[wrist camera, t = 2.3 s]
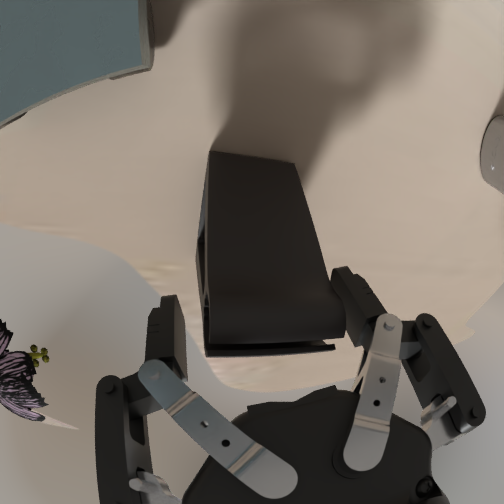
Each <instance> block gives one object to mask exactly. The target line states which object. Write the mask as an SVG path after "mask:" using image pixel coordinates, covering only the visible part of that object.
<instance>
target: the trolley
mask: <svg viewBox="0 0 504 504" xmlns="http://www.w3.org/2000/svg"><path fill="white" fill-rule="evenodd" d="M153 61H154V26H153V17H152V9H151V3H150V0H0V129H1V128H3V127H5V126H6V125H8V124H10V123H12V122H14V121H15V120H17V119H19V118H21V117H22V116H24V115H25V114H26V113H27V111H29V110H31V109H33V108H35V107H37V106H39V105H41V104H43V103H45V102H47V101H49V100H52V99H54V98H56V97H58V96H61V95H63V94H66V93H68V92H71V91H73V90H76V89H78V88H81V87H84V86H87V85H89V84H92V83H95V82H98V81H101V80H104V79H108V78H109V79H111V80H115V79H119V78H122V77H126V76H130V75H134V74H138V73H142V72H146V71H150V70H151V69H152V66H153Z"/></svg>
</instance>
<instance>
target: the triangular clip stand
mask: <svg viewBox="0 0 504 504" xmlns="http://www.w3.org/2000/svg"><path fill="white" fill-rule="evenodd" d="M196 269H197V278H198V287H199V295H200V303H201V311H202V320H203V337H204V350H205V355H206V357H262V356H280V355H294V354H306V353H317V352H326V351H333V350H336V349H335V344H329V345H327V344H326V343H325V342H324V341H323V340H325V339H335V338H344V335H345V331H346V312H345V308H344V305H343V302H342V300H341V298H340V297H339V295H338V294H337V293H336V291H335V290H334V288H333V286H332V285H331V282H330V280H329V277H328V275H327V271H326V267H325V264H324V260H323V256H322V252H321V249H320V245H319V242H318V238H317V235H316V231H315V228H314V224H313V221H312V218H311V214H310V211H309V208H308V204H307V201H306V198H305V195H304V192H303V188H302V185H301V182H300V179H299V176H298V173H297V170H296V167H295V164H293V163H288V162H282V161H276V160H270V159H264V158H258V157H251V156H244V155H236V154H229V153H220V152H211V151H209V155H208V162H207V169H206V175H205V182H204V190H203V197H202V205H201V213H200V221H199V230H198V239H197V249H196Z"/></svg>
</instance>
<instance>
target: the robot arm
mask: <svg viewBox="0 0 504 504" xmlns="http://www.w3.org/2000/svg"><path fill="white" fill-rule="evenodd" d="M481 171H482V175H483V178H484V180H485V181H486V182H487V183H488V184H489V185H491V186H492V187H494V188H495V189H497V190H498V191H500V192H501V193H502V194H504V116H497V117H495V118H494V119H493V120H492V122H491V123H490V125H489V126H488V128H487V131H486V133H485V136H484V140H483V144H482V150H481ZM330 282H331V285H332V286H333V288H334V290H335V291H336V293H337V294H338V295H339V297H340V298H341V300H342V302H343V305H344V308H345V312H346V331H347V333H348V335H349V337H350V339H351V340H352V342H353V344H354V346H355V347H358V346H361V345H362V346H363V348H364V350H363V353H362V357H361V360H360V364H359V368H358V371H357V375H356V378H355V381H354V384H353V386H352V388H351V391H347V390H337V388H336V386H335V385H333V386H330V387H326V388H323V389H320V390H316V391H313V392H312V393H310V394H308V395H306V396H304V397H302V398H300V399H299V400H297V401H294V402H266V403H261V404H256V405H250V406H247V409H248V411H247V412H245V413H242V414H241V415H239V416H237V417H236V418H235V419H233V420H232V421H231V422H229V421H228V420H227V419H226V418H225V417H224V416H222V415H221V414H220V413H219V412H218V411H217V410H215V409H214V408H213V407H212V406H211V405H210V404H209V403H208V402H206V401H205V400H204V399H203V398H202V397H201V396H200V395H199V394H197V393H196V392H193V391H192V390H191V389H190V388H189V387H188V386H186V385H185V383H183V382H186V381H188V376H187V358H186V335H185V320H184V316H183V313H182V310H181V307H180V304H179V301H178V298H177V295H168V296H162V297H161V303H160V307H158V308H153V309H152V311H151V313H150V315H149V316H148V327H147V338H146V351H145V362H144V364H142V366H141V367H140V369H139V371H138V372H136V373H135V374H133V375H130V376H128V377H125V378H122V379H120V378H118V377H117V376H113V375H108V376H105V377H103V378H102V379H101V380H100V381H99V383H98V384H97V388H96V406H95V407H96V408H95V450H96V451H95V453H96V470H97V482H98V491H99V500H100V504H450V503H449V500H448V498H447V497H446V495H445V494H444V493H443V492H442V490H441V489H440V488H439V487H438V485H437V484H436V482H435V481H434V479H433V477H432V471H431V458H432V451H434V450H435V449H437V448H439V447H440V446H442V445H448V444H449V443H451V442H453V441H454V440H457V439H458V438H460V437H462V436H463V435H465V434H467V433H468V432H470V431H471V430H473V429H474V428H476V427H477V426H479V425H480V424H482V422H483V421H484V419H485V415H486V410H485V406H484V404H483V402H482V400H481V398H480V396H479V394H478V392H477V390H476V388H475V386H474V384H473V382H472V380H471V378H470V376H469V374H468V372H467V370H466V368H465V367H464V365H463V363H462V361H461V359H460V358H459V356H458V354H457V352H456V351H455V349H454V347H453V346H452V344H451V342H450V341H449V339H448V337H447V336H446V334H445V332H444V331H443V329H442V328H441V326H440V324H439V323H438V321H437V320H436V319H435V317H433V316H432V315H430V314H427V313H422V314H420V315H418V316H417V318H416V320H415V321H401V320H400V319H399V318H398V317H397V316H395V315H393V314H389V313H387V311H386V310H385V308H384V307H383V305H382V304H381V302H380V301H379V299H378V298H377V297H376V295H375V294H374V293H373V291H372V289H371V288H370V287H369V285H368V283H367V282H366V281H365V279H364V278H362V277H361V276H359V275H358V274H354V275H353V273H352V272H351V270H350V269H349V267H347V266H344V267H339V268H334V269H333V270H332V274H331V280H330ZM401 363H402V365H403V367H404V369H405V370H406V373H407V375H408V377H409V379H410V381H411V384H412V386H413V388H414V390H415V392H416V395H417V397H418V399H419V402H420V404H421V406H422V408H423V411H422V413H421V421H420V424H421V426H422V429H421V428H420V427H418V426H416V425H414V424H412V423H410V422H408V421H406V420H404V419H403V418H401V417H399V416H397V415H395V414H393V413H392V410H393V406H394V401H395V397H396V392H397V387H398V381H399V375H400V369H401ZM163 408H164V410H166V412H167V413H168V414H169V415H170V416H171V417H172V418H173V419H174V420H175V421H176V423H178V425H179V426H180V427H181V428H183V430H184V431H185V432H186V433H187V434H188V435H189V436H190V437H191V438H192V439H193V440H194V441H196V442H197V443H198V444H199V445H200V446H201V447H202V448H203V449H204V450H205V451H206V452H207V453H208V454H210V455H209V456H208V458H207V459H206V461H205V463H204V464H203V466H202V467H201V469H200V470H199V472H198V473H197V475H196V477H195V478H194V479H193V481H192V482H191V484H190V485H189V487H188V489H187V490H186V491H185V493H184V495H183V498H182V499H179V498H177V497H176V496H174V495H173V494H172V492H171V491H170V489H169V486H168V484H167V482H166V481H165V480H164V479H163V478H161V477H159V476H156V475H154V474H153V469H152V462H151V455H150V446H149V437H148V427H147V414H150V413H153V412H155V411H158V410H160V409H163Z"/></svg>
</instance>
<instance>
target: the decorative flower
mask: <svg viewBox="0 0 504 504" xmlns="http://www.w3.org/2000/svg"><path fill="white" fill-rule="evenodd" d="M12 336H13V332H10V331H9V330H7V328H6V322H4V323H2V320H1V319H0V403H1V404H2V405H3V406H4V407H6V408H7V409H8V410H10V411H11V412H13V413H15V414H17V415H18V416H20V417H23V418H26V419H29V420H32V421H43V420H45V417H44V416H43V415H41V414H38V413H36V412H33V411H31V408H39V407H43V406H46V405H48V404H46V403H44V399H45V398H42V397H41V394H40V393H37V391H36V389H35V387H33V385H32V383H31V382H33V375H34V374H36V370H35V367H38V366H39V362H38V361H37V360H35V359H37V358H40V357H42V360H43V361H44V362H45V363H46V362H48V361H49V357H48V356H47V353H48V352H47V349H46V348H42V349H41V353H35V352H37V346H36V345H32V346H31V347H30V348H31V351H32V352H34V353H26V352H24V351H23V352H22V351H15V352H9V350H6V348H7V347H8V345H9V342H10V340H11V338H12ZM32 360H33V361H32Z"/></svg>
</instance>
